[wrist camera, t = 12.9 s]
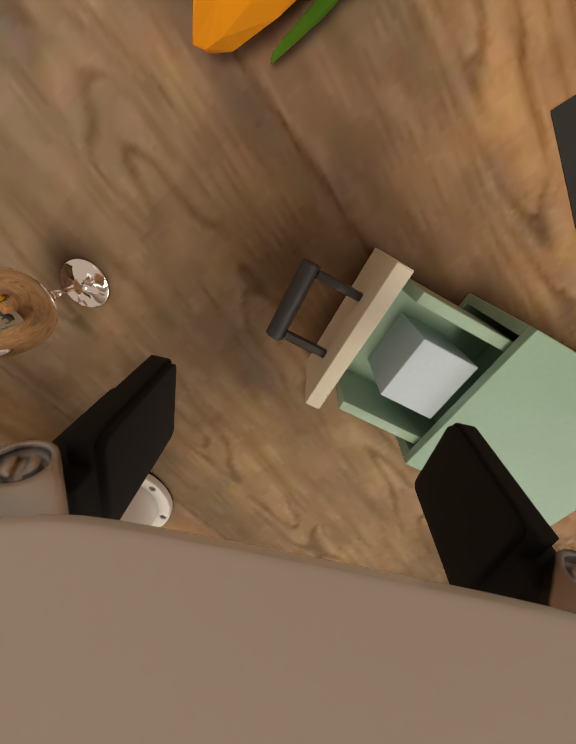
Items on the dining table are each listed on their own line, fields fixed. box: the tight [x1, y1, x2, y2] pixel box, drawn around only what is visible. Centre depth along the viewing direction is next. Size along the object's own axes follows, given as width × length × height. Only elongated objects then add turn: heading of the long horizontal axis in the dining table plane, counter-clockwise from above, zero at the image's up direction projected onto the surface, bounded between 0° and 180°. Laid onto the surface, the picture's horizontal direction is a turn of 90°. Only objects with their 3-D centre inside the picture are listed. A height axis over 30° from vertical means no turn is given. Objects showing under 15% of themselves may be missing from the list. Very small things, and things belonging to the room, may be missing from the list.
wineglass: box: [0, 259, 109, 359], centre depth 23 cm, size 6×6×12 cm
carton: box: [368, 312, 478, 418], centre depth 24 cm, size 6×5×4 cm
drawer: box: [266, 248, 515, 444], centre depth 24 cm, size 18×11×7 cm, turn 63°
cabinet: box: [396, 293, 576, 526], centre depth 26 cm, size 15×13×9 cm
